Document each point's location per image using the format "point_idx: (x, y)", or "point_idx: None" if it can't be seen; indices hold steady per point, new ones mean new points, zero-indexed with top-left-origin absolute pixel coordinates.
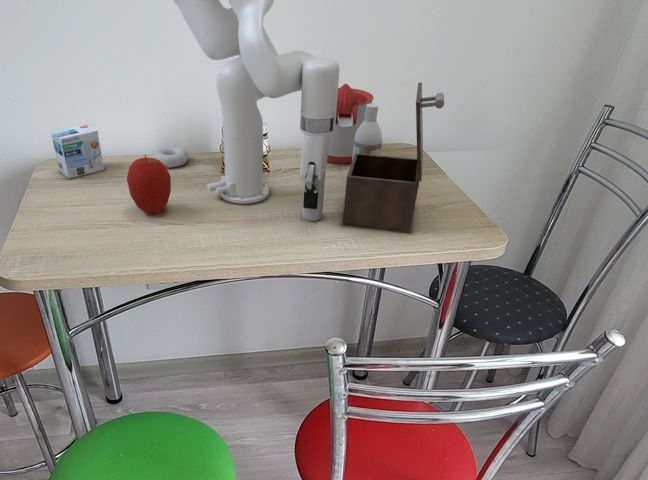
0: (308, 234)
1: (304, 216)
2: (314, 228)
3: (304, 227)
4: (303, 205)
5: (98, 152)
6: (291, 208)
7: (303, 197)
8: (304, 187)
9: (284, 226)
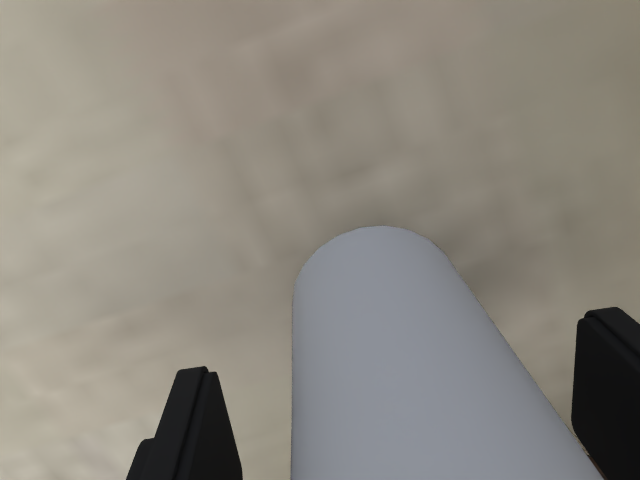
0: (96, 354)
1: (303, 271)
2: (207, 362)
3: (186, 295)
4: (174, 383)
5: None
6: (492, 74)
7: (341, 343)
8: (338, 466)
9: (118, 140)
